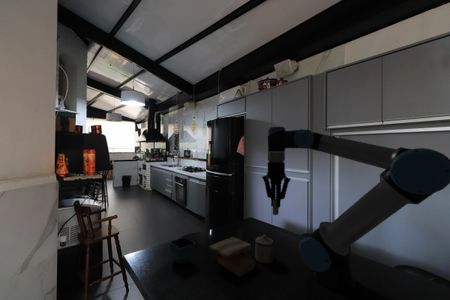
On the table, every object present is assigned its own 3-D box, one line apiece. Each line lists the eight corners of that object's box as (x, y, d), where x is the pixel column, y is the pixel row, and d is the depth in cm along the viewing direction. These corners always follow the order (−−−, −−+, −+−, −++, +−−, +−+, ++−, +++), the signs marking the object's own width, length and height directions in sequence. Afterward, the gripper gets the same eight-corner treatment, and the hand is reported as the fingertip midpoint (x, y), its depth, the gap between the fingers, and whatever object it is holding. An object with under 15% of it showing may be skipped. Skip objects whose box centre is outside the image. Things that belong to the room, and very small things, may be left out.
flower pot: (195, 261, 99) (195, 242, 99) (179, 268, 93) (180, 248, 93) (184, 254, 105) (184, 236, 105) (168, 261, 99) (169, 242, 99)
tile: (254, 269, 95) (254, 261, 95) (239, 278, 88) (239, 269, 88) (232, 256, 105) (233, 249, 105) (217, 263, 98) (217, 256, 98)
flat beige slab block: (250, 261, 100) (251, 244, 100) (227, 275, 89) (227, 255, 89) (232, 252, 109) (232, 236, 109) (208, 263, 98) (209, 245, 97)
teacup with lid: (273, 265, 98) (274, 240, 98) (254, 262, 99) (254, 238, 99) (273, 252, 109) (273, 230, 109) (255, 250, 111) (256, 228, 111)
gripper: (293, 161, 93) (293, 215, 93) (267, 160, 101) (267, 209, 101) (286, 162, 87) (285, 219, 87) (259, 161, 96) (258, 213, 95)
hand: (275, 214), depth 94 cm, fingers closed
